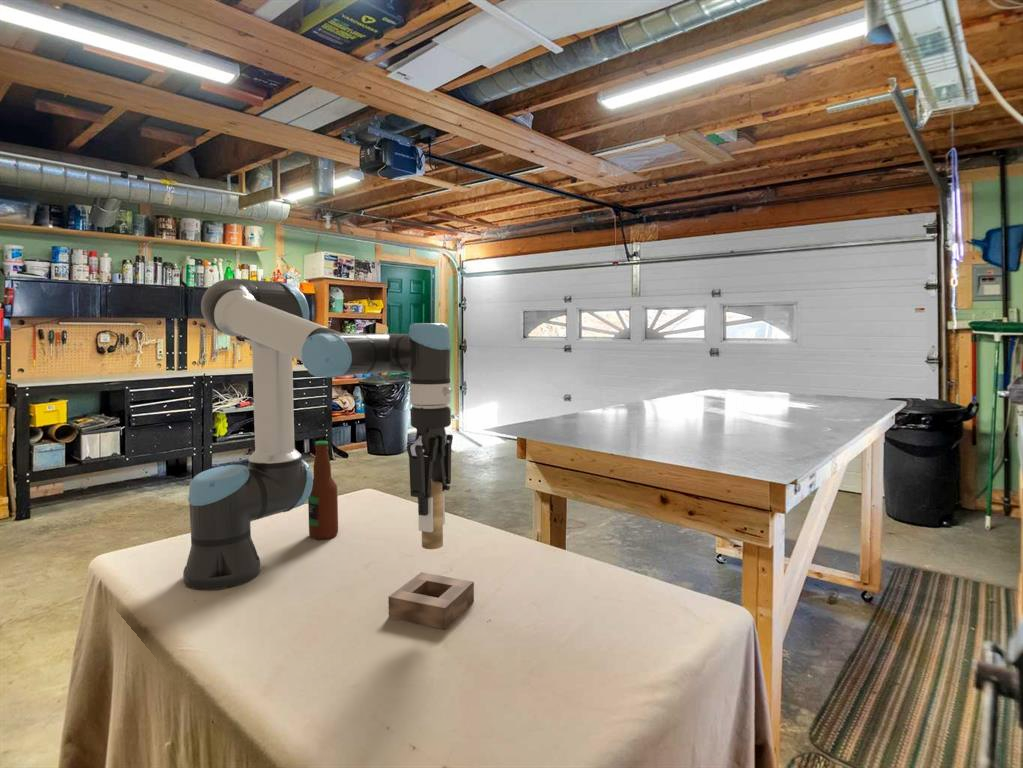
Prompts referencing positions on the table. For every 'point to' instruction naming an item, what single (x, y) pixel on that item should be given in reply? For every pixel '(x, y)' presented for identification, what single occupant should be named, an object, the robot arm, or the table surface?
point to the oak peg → (435, 519)
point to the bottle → (323, 497)
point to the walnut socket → (431, 600)
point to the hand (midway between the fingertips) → (431, 526)
